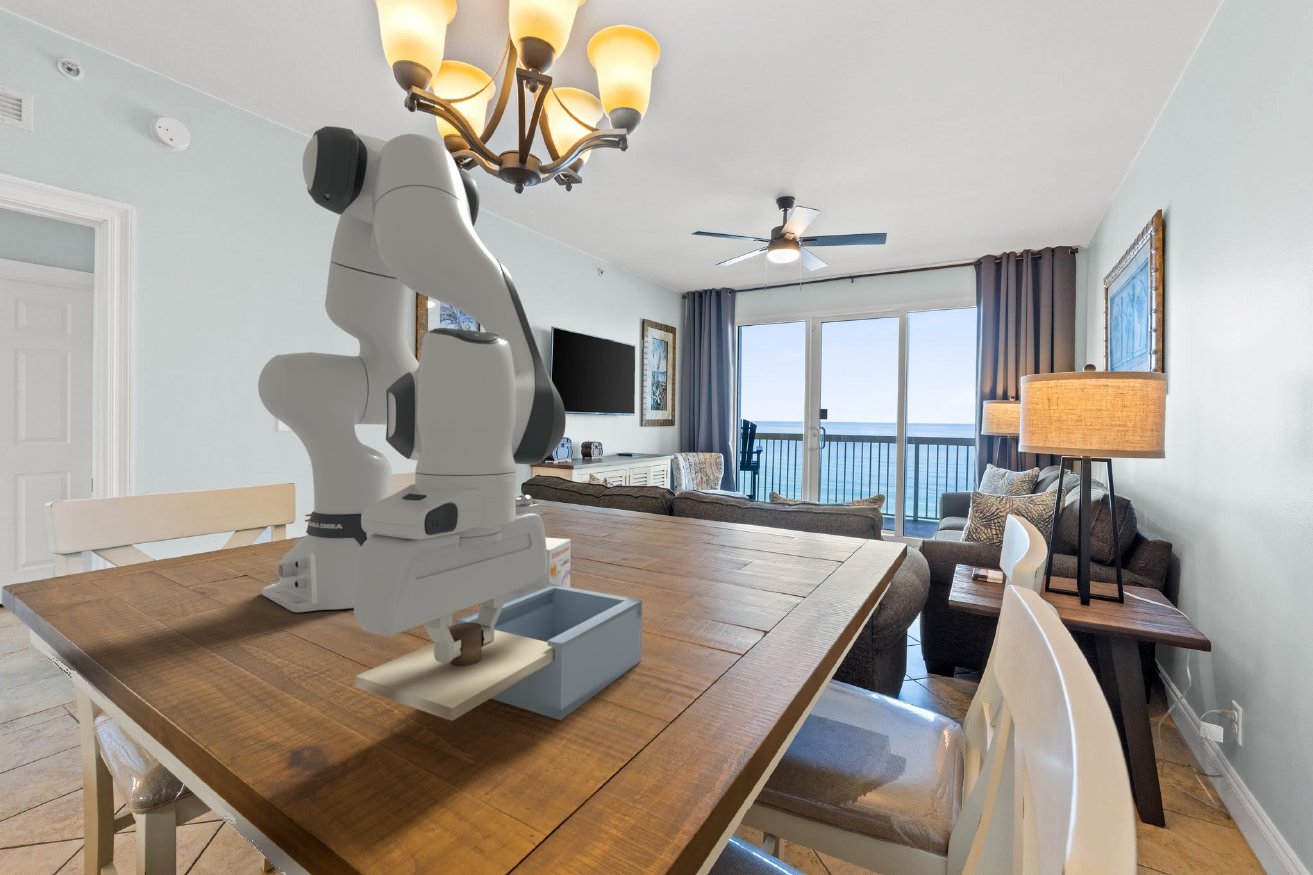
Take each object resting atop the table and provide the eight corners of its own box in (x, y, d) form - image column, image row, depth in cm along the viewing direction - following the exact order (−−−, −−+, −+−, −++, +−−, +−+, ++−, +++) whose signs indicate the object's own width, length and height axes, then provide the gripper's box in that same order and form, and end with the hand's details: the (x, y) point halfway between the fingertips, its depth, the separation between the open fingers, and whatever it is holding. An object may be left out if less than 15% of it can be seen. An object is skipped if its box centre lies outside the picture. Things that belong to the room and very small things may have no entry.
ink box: (548, 636, 76) (550, 537, 76) (491, 630, 78) (492, 533, 78) (571, 615, 85) (572, 526, 85) (518, 611, 87) (520, 523, 86)
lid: (355, 687, 49) (355, 641, 49) (475, 634, 62) (475, 597, 62) (452, 720, 44) (452, 669, 44) (562, 655, 56) (562, 615, 56)
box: (455, 687, 61) (456, 619, 61) (548, 639, 75) (549, 583, 75) (560, 720, 55) (561, 643, 54) (641, 660, 69) (642, 600, 69)
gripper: (516, 490, 63) (514, 614, 63) (341, 514, 45) (340, 687, 45) (562, 494, 60) (560, 623, 60) (396, 521, 42) (394, 706, 42)
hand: (465, 651), depth 53 cm, fingers closed on lid, 3 cm apart
